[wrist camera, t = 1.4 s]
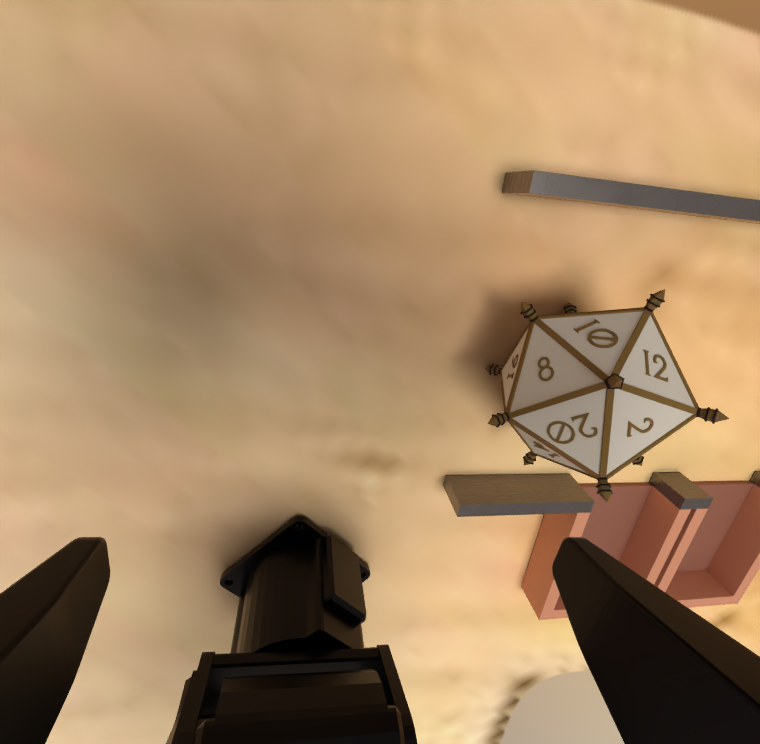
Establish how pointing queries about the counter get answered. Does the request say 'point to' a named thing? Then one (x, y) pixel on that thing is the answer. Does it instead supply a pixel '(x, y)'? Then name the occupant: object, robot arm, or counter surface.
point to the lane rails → (562, 489)
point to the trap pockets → (659, 543)
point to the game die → (595, 389)
